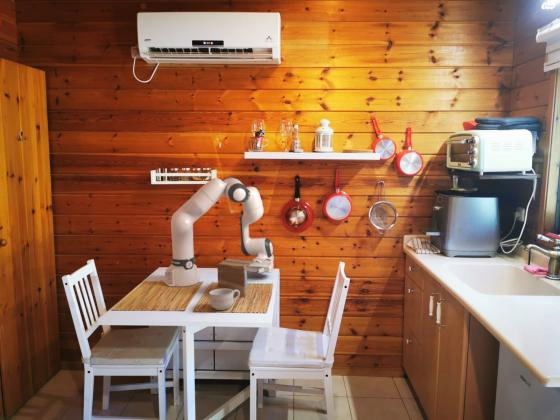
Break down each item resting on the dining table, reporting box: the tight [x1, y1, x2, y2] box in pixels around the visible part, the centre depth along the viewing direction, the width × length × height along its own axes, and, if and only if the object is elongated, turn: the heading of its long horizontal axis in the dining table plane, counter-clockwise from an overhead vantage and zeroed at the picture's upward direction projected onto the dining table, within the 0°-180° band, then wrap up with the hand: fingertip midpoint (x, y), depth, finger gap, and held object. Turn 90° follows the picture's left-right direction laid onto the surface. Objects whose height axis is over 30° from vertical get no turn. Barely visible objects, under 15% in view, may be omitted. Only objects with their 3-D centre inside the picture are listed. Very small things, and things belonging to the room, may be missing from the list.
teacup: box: [208, 288, 240, 311], centre depth 201 cm, size 14×11×8 cm
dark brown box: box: [216, 258, 253, 298], centre depth 222 cm, size 12×14×16 cm
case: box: [245, 270, 248, 288], centre depth 226 cm, size 14×4×9 cm, turn 162°
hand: (249, 270), depth 239 cm, fingers open, 8 cm apart
